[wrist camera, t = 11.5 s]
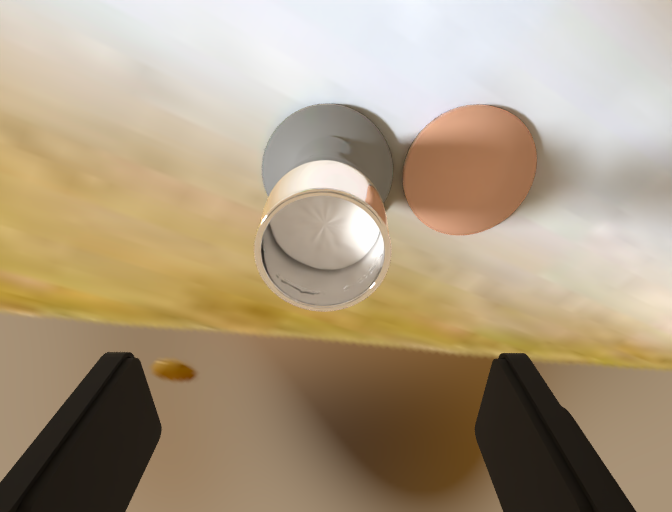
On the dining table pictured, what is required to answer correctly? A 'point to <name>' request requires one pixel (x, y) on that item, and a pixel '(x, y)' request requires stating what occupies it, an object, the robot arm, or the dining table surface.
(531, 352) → the dining table surface
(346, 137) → the slate coaster
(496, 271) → the dining table surface
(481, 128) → the terracotta coaster
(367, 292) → the beer glass
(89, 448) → the robot arm
